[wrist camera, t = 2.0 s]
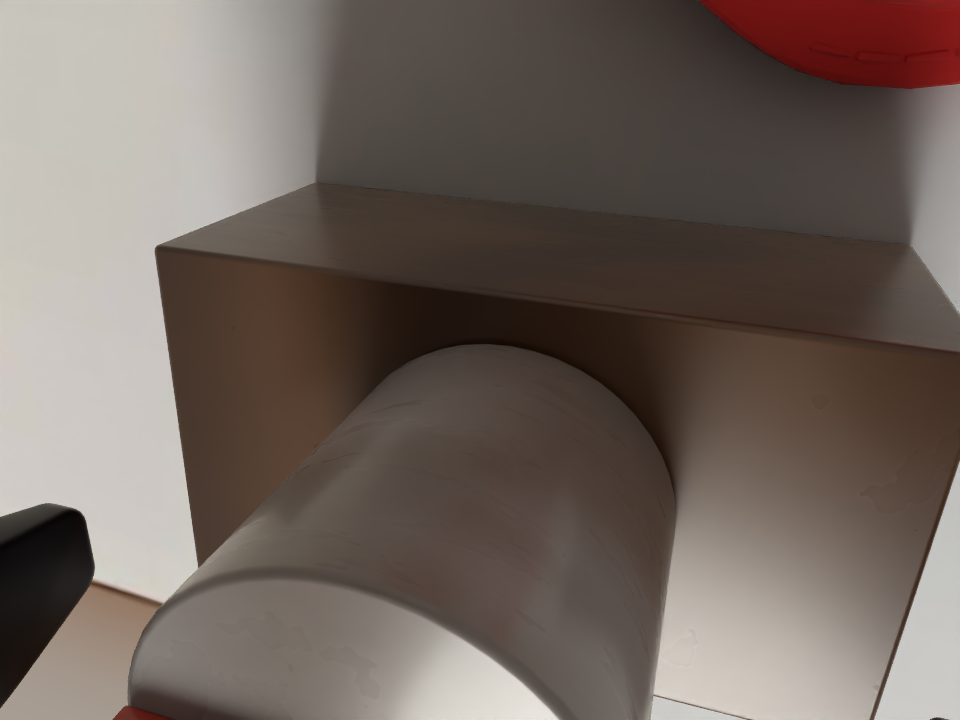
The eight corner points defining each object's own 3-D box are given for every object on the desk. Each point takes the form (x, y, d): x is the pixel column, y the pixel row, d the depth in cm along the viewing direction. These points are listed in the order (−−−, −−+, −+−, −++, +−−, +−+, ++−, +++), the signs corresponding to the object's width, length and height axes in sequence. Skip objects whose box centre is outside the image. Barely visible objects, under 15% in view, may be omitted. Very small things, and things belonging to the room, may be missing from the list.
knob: (701, 371, 9) (664, 694, 5) (652, 666, 11) (592, 1089, 7) (343, 317, 10) (53, 540, 6) (353, 593, 12) (138, 913, 8)
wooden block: (913, 244, 12) (995, 360, 8) (832, 547, 14) (865, 753, 10) (313, 181, 14) (150, 245, 11) (326, 447, 17) (197, 581, 13)
